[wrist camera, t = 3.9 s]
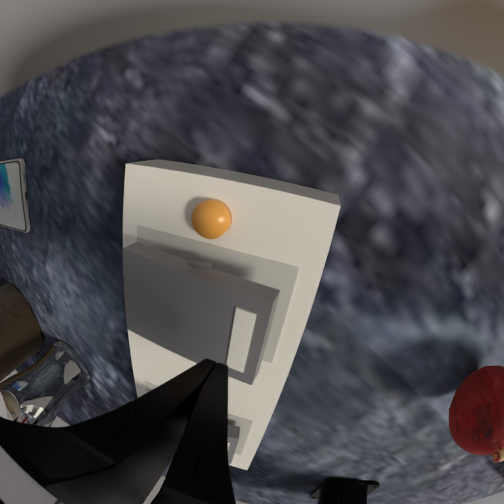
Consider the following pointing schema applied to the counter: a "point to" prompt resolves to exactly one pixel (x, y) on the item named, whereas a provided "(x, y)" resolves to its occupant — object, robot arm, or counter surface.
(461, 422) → the onion
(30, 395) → the beer glass
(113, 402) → the counter surface
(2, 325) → the pillar candle
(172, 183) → the power strip
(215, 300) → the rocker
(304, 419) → the counter surface
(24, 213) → the smartphone
